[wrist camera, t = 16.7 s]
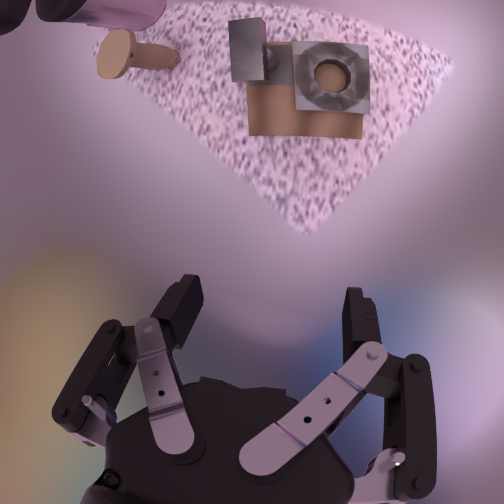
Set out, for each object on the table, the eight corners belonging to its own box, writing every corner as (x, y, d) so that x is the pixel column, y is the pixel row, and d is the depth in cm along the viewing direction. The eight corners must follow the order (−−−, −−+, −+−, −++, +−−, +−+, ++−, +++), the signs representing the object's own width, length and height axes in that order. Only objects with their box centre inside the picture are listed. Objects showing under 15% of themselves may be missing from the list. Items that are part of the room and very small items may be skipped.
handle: (154, 74, 35) (92, 77, 23) (165, 40, 31) (105, 28, 19) (179, 79, 35) (121, 81, 23) (191, 44, 32) (136, 29, 19)
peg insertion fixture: (252, 133, 38) (241, 141, 33) (246, 46, 31) (233, 38, 25) (359, 137, 35) (368, 145, 29) (358, 47, 28) (367, 38, 22)
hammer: (255, 40, 28) (228, 21, 19) (279, 38, 28) (260, 17, 18) (258, 85, 32) (231, 82, 23) (281, 84, 31) (264, 79, 22)
